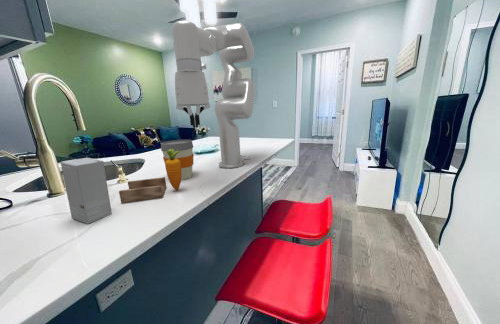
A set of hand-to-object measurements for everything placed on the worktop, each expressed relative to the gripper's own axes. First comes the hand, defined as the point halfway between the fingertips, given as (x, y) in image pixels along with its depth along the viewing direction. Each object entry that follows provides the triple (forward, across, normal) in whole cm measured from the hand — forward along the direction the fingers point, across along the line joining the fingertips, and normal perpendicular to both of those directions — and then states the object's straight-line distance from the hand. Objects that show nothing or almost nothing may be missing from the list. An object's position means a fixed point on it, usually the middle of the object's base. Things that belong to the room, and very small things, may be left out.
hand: (195, 127), depth 69 cm
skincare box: (+22, +30, +10) cm, 38 cm away
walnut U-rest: (+22, +19, -1) cm, 29 cm away
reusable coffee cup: (+22, +8, -17) cm, 28 cm away
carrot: (+22, +9, -1) cm, 23 cm away
